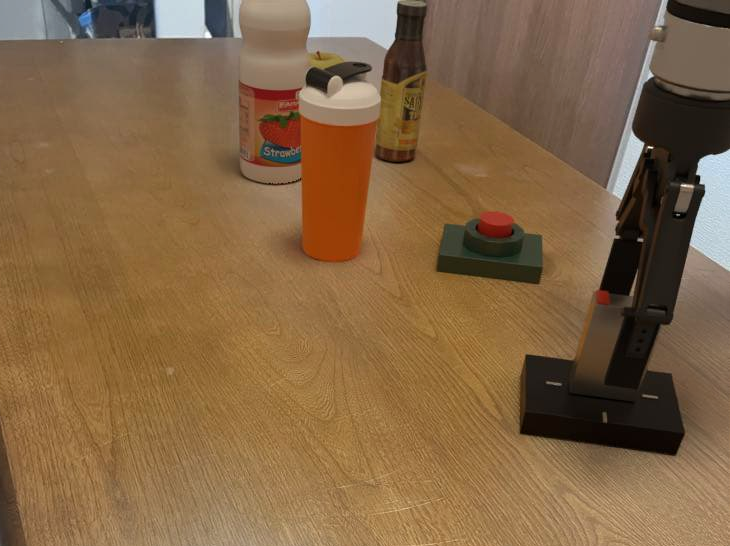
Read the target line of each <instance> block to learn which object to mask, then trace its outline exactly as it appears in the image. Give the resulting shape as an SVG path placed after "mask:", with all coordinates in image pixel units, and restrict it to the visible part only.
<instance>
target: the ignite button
mask: <svg viewBox="0 0 730 546" xmlns="http://www.w3.org/2000/svg"><path fill="white" fill-rule="evenodd" d="M478 218H479V224H478V230H477V231H478V232H479V233H480V234H482V235H485V236H487V237H492V238H507V237H510V236H511V234H512V229H513V224H514V223H515V219H514V217H513V216H511V215H510V214H507V213H505V212H502V211H485V212H483V213H481V214H480V215H479V217H478Z"/></svg>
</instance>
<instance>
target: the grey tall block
mask: <svg viewBox="0 0 730 546" xmlns="http://www.w3.org/2000/svg"><path fill="white" fill-rule="evenodd" d="M633 296H634V295H633ZM633 296H632V295H629V296H625V295H617V294H609V293H608V291H602V290H599V289H596V291H593V292H592V295H591V299H590V303H589V307H588V310H587V313H586V317H585V320H584V324H583V326H582V331H581V335H580V338H579V341H578V345H577V349H576V352H575V356H574V359H573V360H574V362H573V366H572V369H571V373H570V377H569V392H570V393H572V394H580V395H587V396H594V397H602V398H609V399H616V400H624V401H631V402H636V399H637V396H638V393H639V391H640V388H641V385H642V382H643V379H644V376H645V374H646V371H647V370H648V367H649V365H650V362H651V359H652V356H653V353H654V351H655V348H656V345H657V342H658V339H659V336H660V333H661V331H662V327H663V325H660V328H659V331H658V333H657V336H656V339H655V342H654V345H653V347H652V350H651V353H650V356H649V359H648V361H647V364H646V367H645V370H644V373H643V375H642V378H641V381H640V384H639V387H638V389H629V388H622V387H615V386H608V385H604V378H605V375H606V372H607V369H608V366H609V363H610V359H611V356H612V353H613V350H614V347H615V344H616V341H617V338H618V335H619V332H620V329H621V326H622V322H623V319H624V316H621V310H622V309H623V308H624V307H625V306H626V307H631V306H632V301H633Z"/></svg>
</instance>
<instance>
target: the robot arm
mask: <svg viewBox="0 0 730 546" xmlns="http://www.w3.org/2000/svg"><path fill="white" fill-rule="evenodd" d="M665 8H666V9H665V11H664V14H663V19H664V20H663V23H662V25H653V26H652V27H651V28H650V32H649V35H648V38H649V40H650V41H652V42H655V45H654V49H653V52H652V55H651V59H650V63H649V65H648V66H649V67H648V68H649V71H650V73H651V75H652V76H651V77H649V78H648V79H647V80H646V81H645V82H644V83H643V84H642V87H641V91H640V95H639V98H638V102H637V106H636V108H635V112H634V116H633V120H632V123H631V131H632V134H633V135H634V137H636V139H637V140H639V141H640V142H641V143H643V146H642V149H641V152H640V153H639V154H640V155H639V157H638V159H637V162H636V164H635V166H634V169H633V171H632V174H631V177H630V179H629V181H628V184H627V186H626V188H625V191H624V193H623V197H622V198H621V200H620V203H619V206H618V208H617V210H616V211H615V215H614V216H615V221H617V223H616V225H615V228H614V231H615V236H616V237H618V238H616V237H614V238H613V241H612V244H611V246H610V250H609V253H608V254H609V255H608V257H607V261H606V266H605V268H604V270H603V271H604V272H603V274H602V278H601V281H600V285H599V288H598V290H602V291H608V293H609V294H617V295H625V296H631V292H632V289H633V286H634V290H633V301H632V306H631V307H626V306H625V307H624V308H623V309H622V310H621V316H624V319H623V322H622V326H621V329H620V332H619V335H618V338H617V341H616V344H615V347H614V350H613V353H612V356H611V359H610V363H609V366H608V369H607V372H606V375H605V378H604V385H608V386H615V387H622V388H629V389H638V387H639V384H640V381H641V378H642V375H643V373H644V370H645V367H646V364H647V361H648V359H649V356H650V353H651V350H652V347H653V345H654V342H655V339H656V336H657V333H658V331H659V328H660V325H662V326H670V325H671V324H672V322H673V320H674V316H675V315H674V312H675V308H676V304H677V300H678V297H679V296H678V295H679V291H680V288H681V283H682V279H683V274H684V270H685V267H686V262H687V257H688V254H689V249H690V245H691V241H692V237H693V232H694V229H695V228H694V227H695V223H696V220H697V217H698V214H699V211H700V207H701V204H702V201H703V198H704V197H705V195H706V184H704V183H701V175H700V174H697V172H698V169H699V163H700V161H701V160H702V159H703V158H705V157H708V156H710V155H712V156H717V155H722V154H724V153H726V152H728V151H729V150H730V0H667V2H666V5H665ZM639 239H640V240H641V239H642V241H639ZM634 283H635V285H634Z"/></svg>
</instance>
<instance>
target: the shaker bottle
mask: <svg viewBox="0 0 730 546" xmlns="http://www.w3.org/2000/svg"><path fill="white" fill-rule="evenodd" d="M372 70H373V67H372V65H371V64H369V63H367V62H361V61H345V62H343V63H339V64H336V65H333V66H330V67H328V68H325V69H323V70H322V69H320V68H317V67H310V68H309V69H308V70H307V72H306V74H305V86H304V87H303V88H302V90H301V91H300V93H299V110H298V112H299V114H300V115H301V174H302V178H301V224H302V225H301V239H302V240H301V243H302V246H301V247H302V251H303V252H304V253H305V254H306V255H307V256H308V257H310V258H312V259H315V260H317V261H322V262H331V263H336V262H338V263H339V262H346V261H350V260H353V259H355V258H356V257H358V255H360V253H361V250H362V243H363V235H364V227H365V218H366V212H367V211H366V210H367V202H368V197H369V195H368V194H369V187H370V180H371V172H372V163H373V157H374V148H375V143H376V142H375V139H376V129H377V120H378V119H379V117H380V106H381V97H380V92H379V91H378V90H377V88H376V87H375V86H374V85H373V83H371V82H370V81H368V80H367V74H368V73H369V72H371V71H372Z"/></svg>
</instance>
